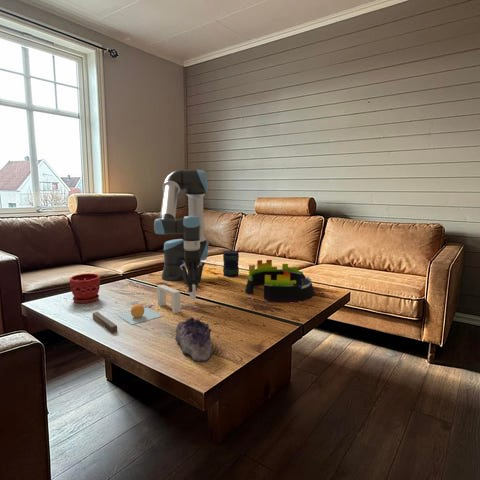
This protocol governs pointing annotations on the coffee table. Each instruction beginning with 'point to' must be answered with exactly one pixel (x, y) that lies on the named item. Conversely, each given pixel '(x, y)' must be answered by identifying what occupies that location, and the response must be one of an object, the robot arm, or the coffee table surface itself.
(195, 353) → the geode
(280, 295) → the curved castle wall
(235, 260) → the storage jar
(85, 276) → the plant pot
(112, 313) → the coffee table surface
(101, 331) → the coffee table surface
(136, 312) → the ball
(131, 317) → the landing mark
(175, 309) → the bridge
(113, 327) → the wall
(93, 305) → the coffee table surface
